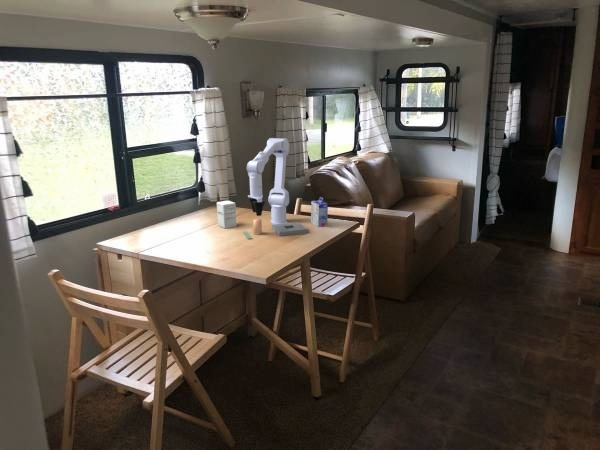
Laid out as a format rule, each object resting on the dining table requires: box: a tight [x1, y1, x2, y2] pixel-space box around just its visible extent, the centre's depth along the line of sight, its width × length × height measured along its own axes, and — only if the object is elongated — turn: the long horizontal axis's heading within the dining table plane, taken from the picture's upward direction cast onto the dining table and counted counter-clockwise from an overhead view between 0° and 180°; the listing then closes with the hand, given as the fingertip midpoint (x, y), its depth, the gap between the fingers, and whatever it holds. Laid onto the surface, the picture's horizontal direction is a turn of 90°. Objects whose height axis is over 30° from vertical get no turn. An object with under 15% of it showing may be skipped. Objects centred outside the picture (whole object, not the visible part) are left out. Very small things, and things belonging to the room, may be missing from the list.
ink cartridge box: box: [310, 196, 329, 228], centre depth 251 cm, size 10×6×14 cm, turn 22°
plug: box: [252, 218, 263, 236], centre depth 237 cm, size 4×4×7 cm
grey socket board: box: [271, 221, 309, 237], centre depth 242 cm, size 14×14×2 cm
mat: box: [242, 230, 253, 240], centre depth 238 cm, size 12×12×1 cm
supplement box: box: [216, 200, 237, 229], centre depth 253 cm, size 7×7×13 cm
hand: (257, 213), depth 236 cm, fingers open, 7 cm apart
